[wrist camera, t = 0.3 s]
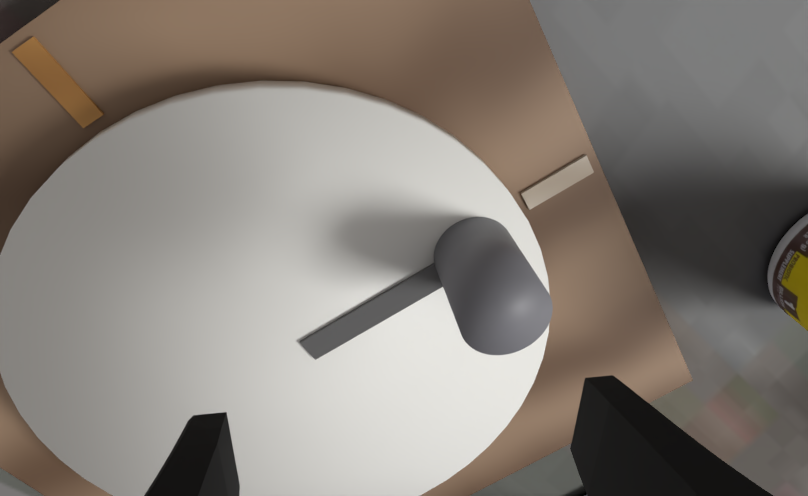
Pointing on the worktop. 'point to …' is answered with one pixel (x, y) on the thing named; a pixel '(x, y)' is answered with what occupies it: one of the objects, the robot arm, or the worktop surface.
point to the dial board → (388, 79)
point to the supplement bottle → (791, 273)
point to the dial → (273, 294)
